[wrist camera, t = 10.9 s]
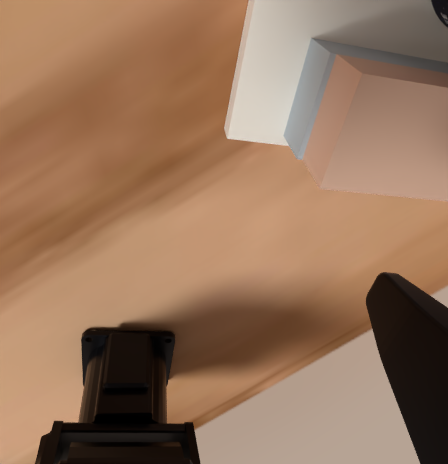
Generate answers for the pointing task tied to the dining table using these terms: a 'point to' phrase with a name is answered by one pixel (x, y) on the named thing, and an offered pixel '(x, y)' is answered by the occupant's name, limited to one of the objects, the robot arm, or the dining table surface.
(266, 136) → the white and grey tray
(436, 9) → the beverage can
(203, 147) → the dining table surface
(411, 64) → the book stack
